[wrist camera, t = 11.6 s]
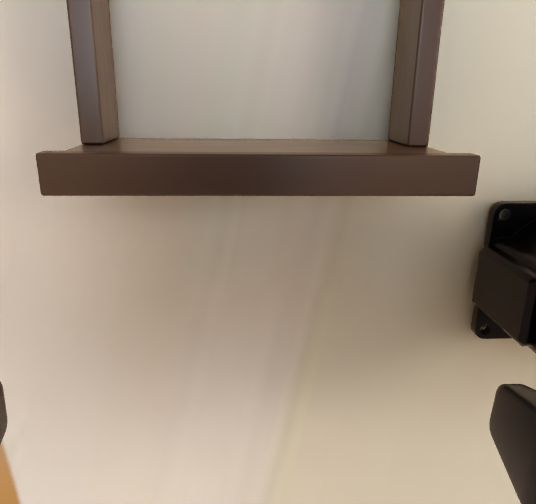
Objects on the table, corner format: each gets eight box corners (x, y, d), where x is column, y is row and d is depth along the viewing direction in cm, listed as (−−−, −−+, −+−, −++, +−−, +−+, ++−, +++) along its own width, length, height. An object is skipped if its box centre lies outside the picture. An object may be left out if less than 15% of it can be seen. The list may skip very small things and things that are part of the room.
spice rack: (432, -122, 18) (540, -238, 11) (404, 164, 21) (475, 196, 15) (74, -136, 17) (-23, -270, 11) (102, 162, 20) (40, 196, 14)
